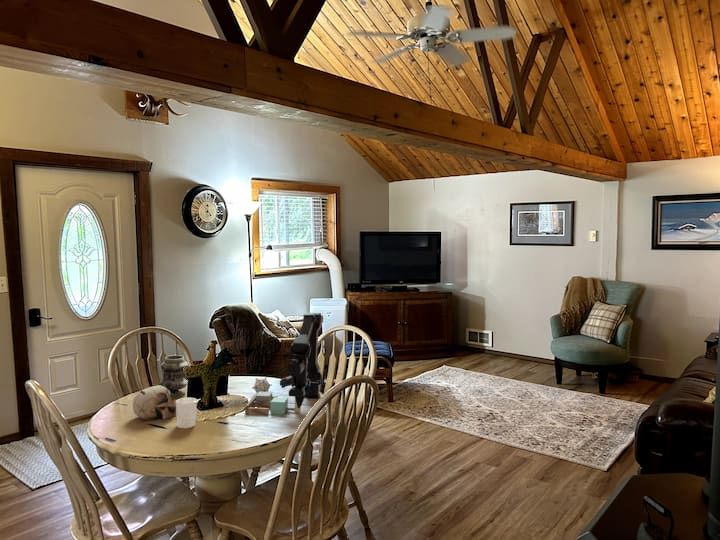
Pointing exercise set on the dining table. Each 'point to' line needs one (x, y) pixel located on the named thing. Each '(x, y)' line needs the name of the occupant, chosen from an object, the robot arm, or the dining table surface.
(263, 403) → the shelf
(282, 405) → the teal cube mallet
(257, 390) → the grey spiky lump
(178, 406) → the white cup
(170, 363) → the apothecary jar
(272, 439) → the dining table surface
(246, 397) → the dining table surface
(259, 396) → the slate block
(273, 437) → the dining table surface
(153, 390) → the skull
